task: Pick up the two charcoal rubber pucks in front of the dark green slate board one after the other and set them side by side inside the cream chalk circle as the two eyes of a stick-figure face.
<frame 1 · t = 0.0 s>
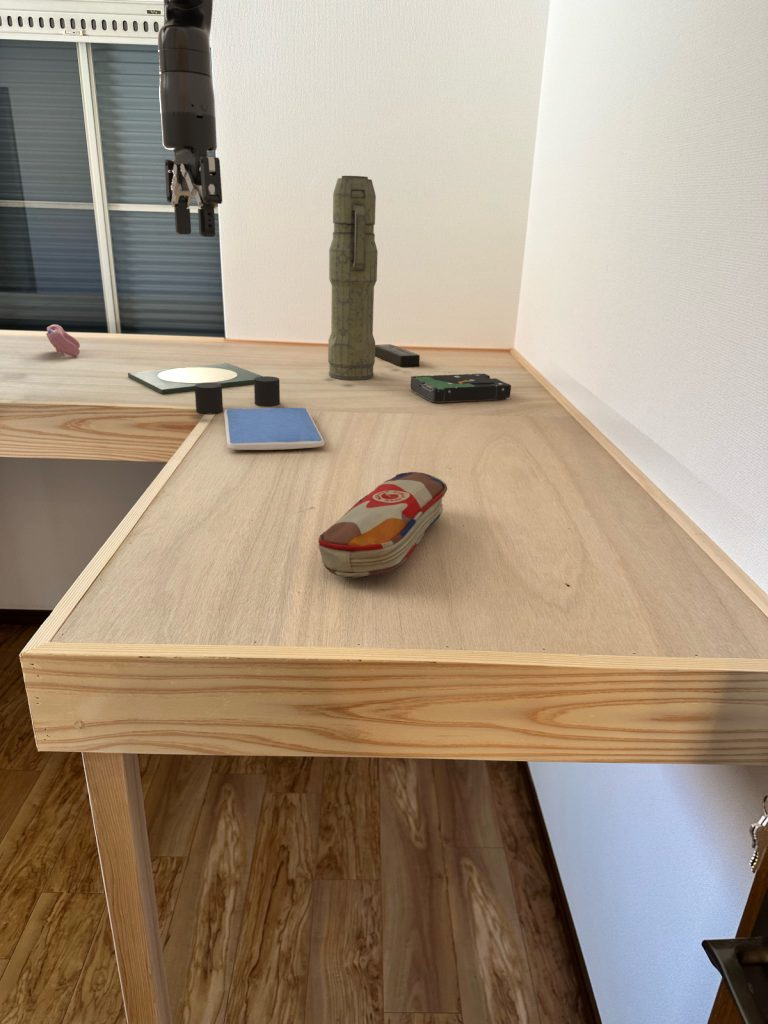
hand: (195, 235, 109), 25 cm above the table, tool pointing down, fingers open, 8 cm apart
eye left: (209, 410, 112), on the table
pencil case: (389, 544, 68), on the table
thermos: (351, 376, 140), on the table
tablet: (271, 433, 102), on the table
multiport hub: (395, 361, 157), on the table
board: (198, 379, 132), on the table
eye right: (267, 403, 117), on the table
pink bird figurine: (65, 354, 152), on the table
disk drive: (459, 396, 128), on the table
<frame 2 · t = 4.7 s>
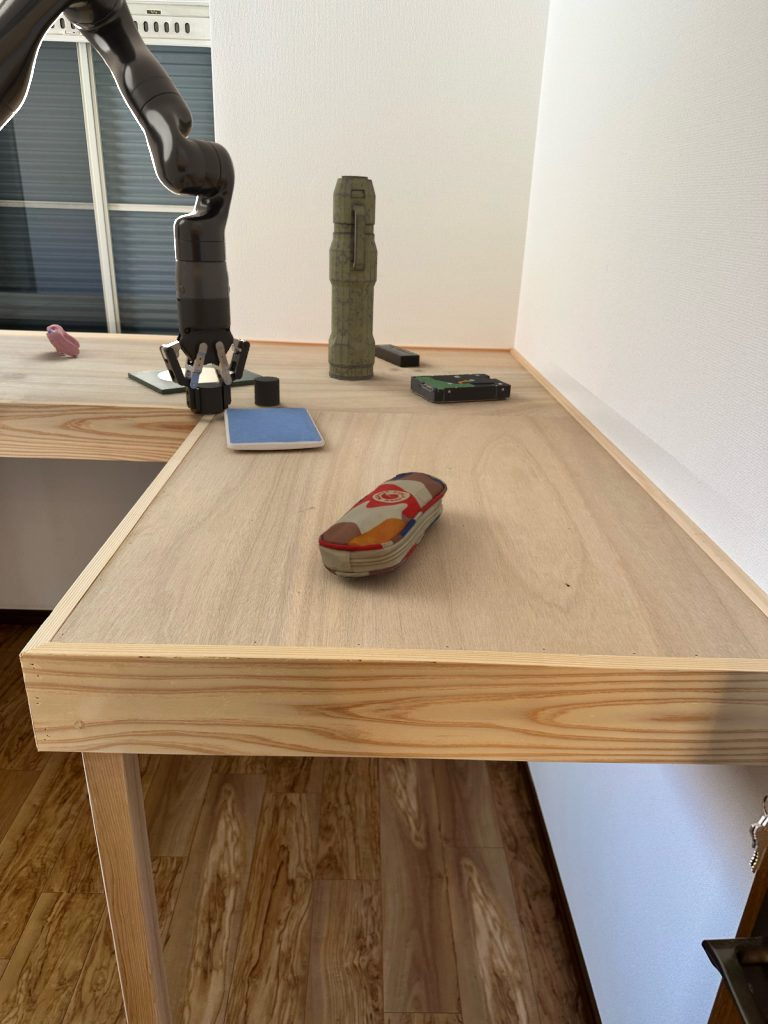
hand: (209, 409, 111), 0 cm above the table, tool pointing down, fingers closed on eye left, 4 cm apart
eye left: (209, 410, 112), on the table, touching gripper
everything else where it was.
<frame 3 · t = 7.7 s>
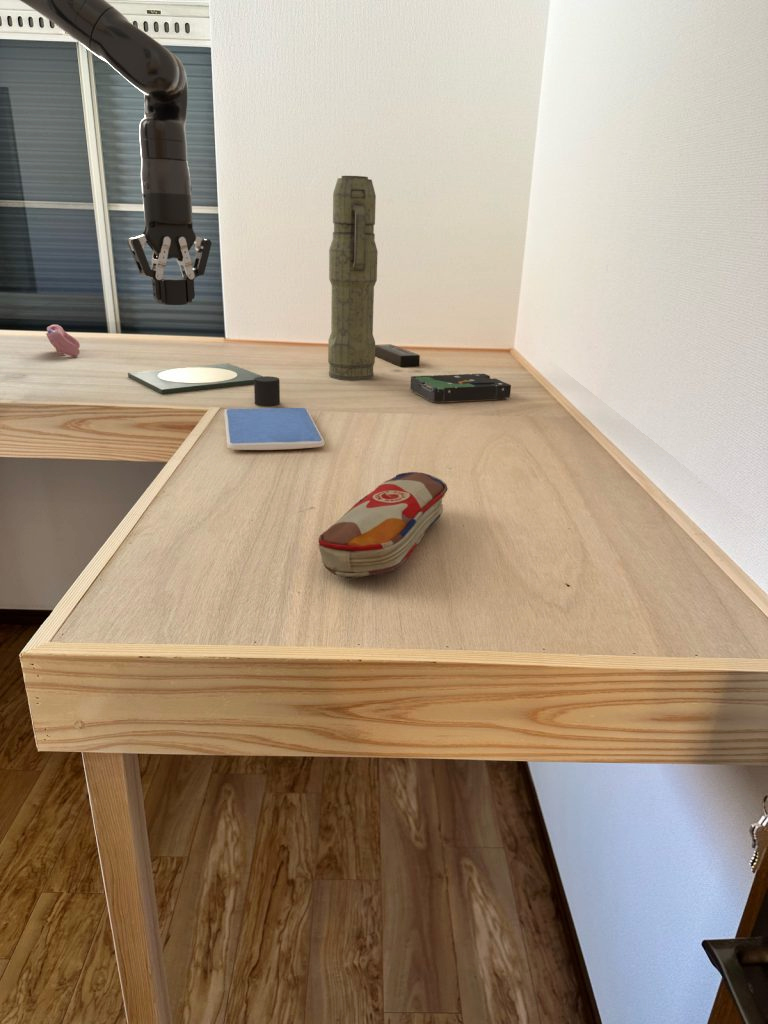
hand: (174, 302, 122), 14 cm above the table, tool pointing down, fingers closed on eye left, 4 cm apart
eye left: (174, 303, 123), point 14 cm above the table, touching gripper
everything else where it was.
when the fingers open (1 cm above the table, at t = 11.1 s): eye left stays where it is, resting on board.
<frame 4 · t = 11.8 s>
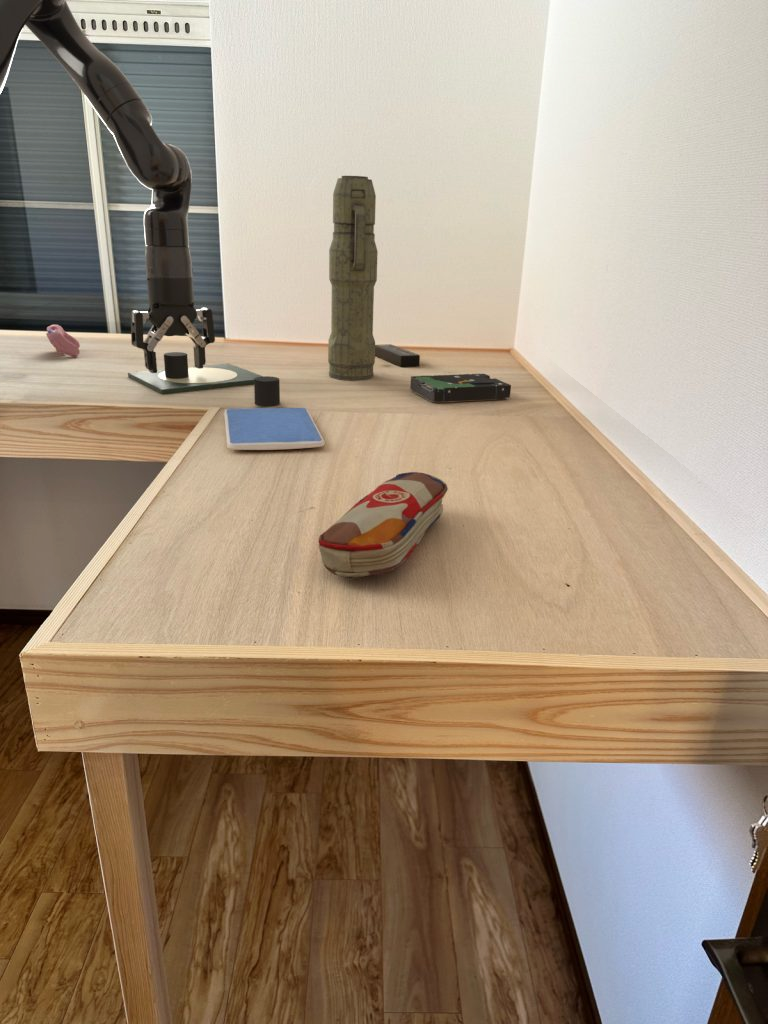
hand: (176, 370, 129), 2 cm above the table, tool pointing down, fingers open, 8 cm apart
eye left: (177, 376, 130), point 1 cm above the table, touching board
everything else where it was.
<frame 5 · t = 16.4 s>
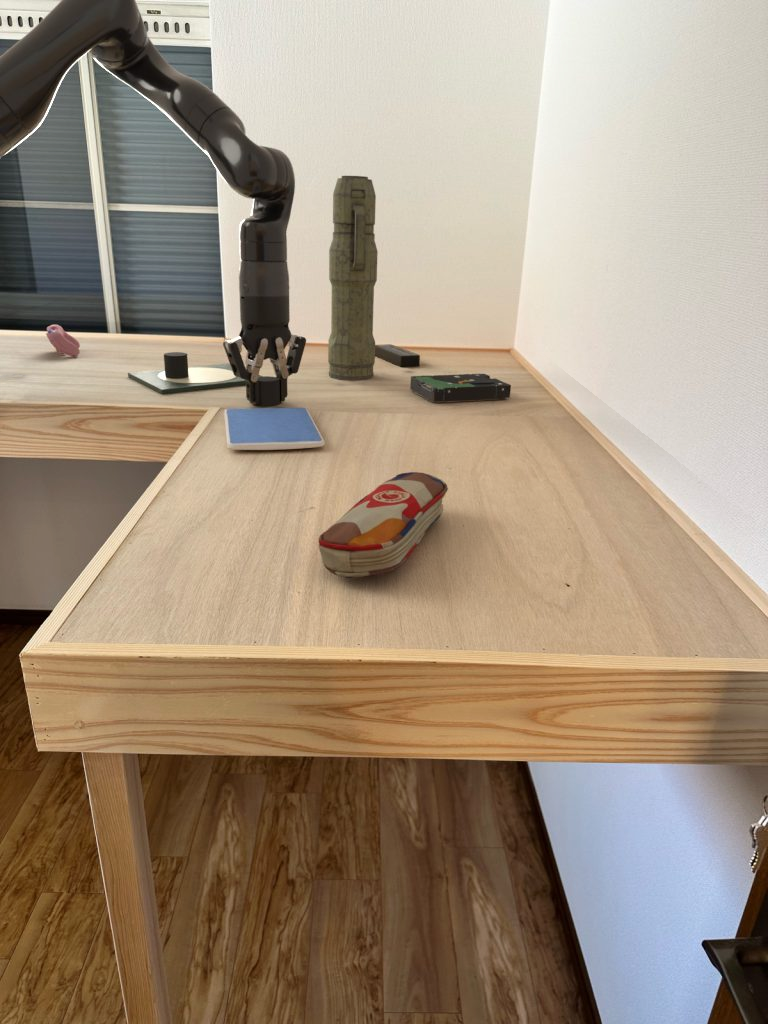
hand: (267, 401, 117), 0 cm above the table, tool pointing down, fingers closed on eye right, 4 cm apart
eye right: (267, 403, 117), on the table, touching gripper
everything else where it was.
when the fingers open (1 cm above the table, at t = 22.9 s): eye right stays where it is, resting on board.
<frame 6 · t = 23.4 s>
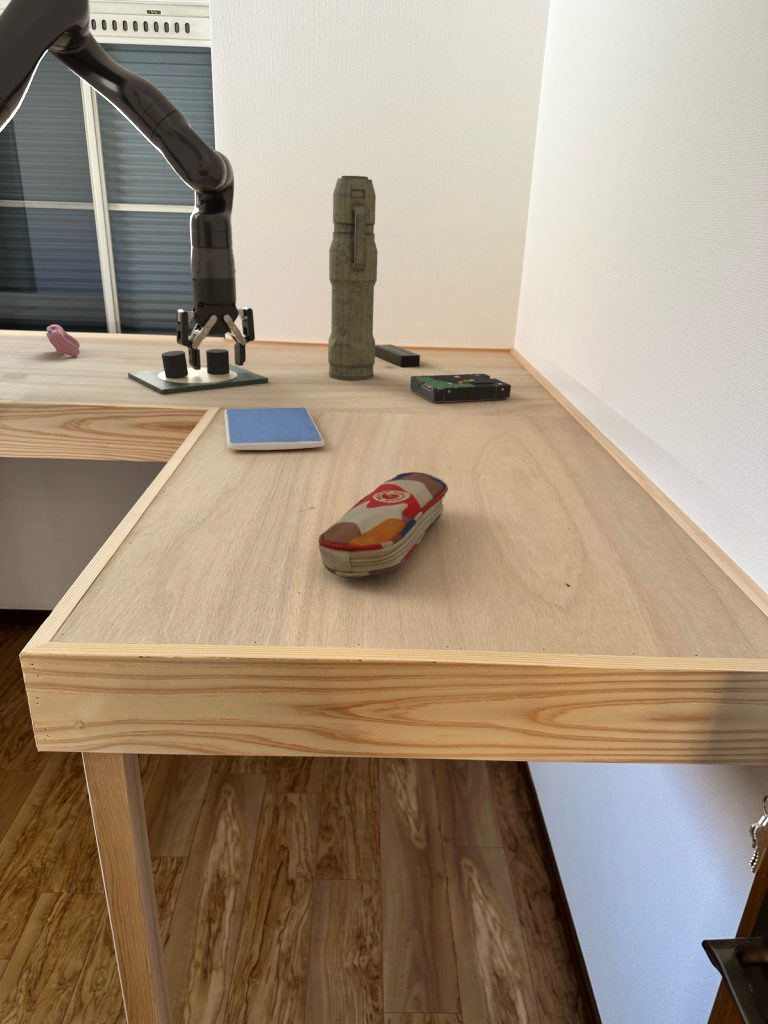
hand: (218, 367, 134), 2 cm above the table, tool pointing down, fingers open, 8 cm apart
eye left: (176, 375, 130), point 1 cm above the table, tilted 6°, touching board, gripper
eye right: (218, 372, 134), point 1 cm above the table, touching board
everything else where it was.
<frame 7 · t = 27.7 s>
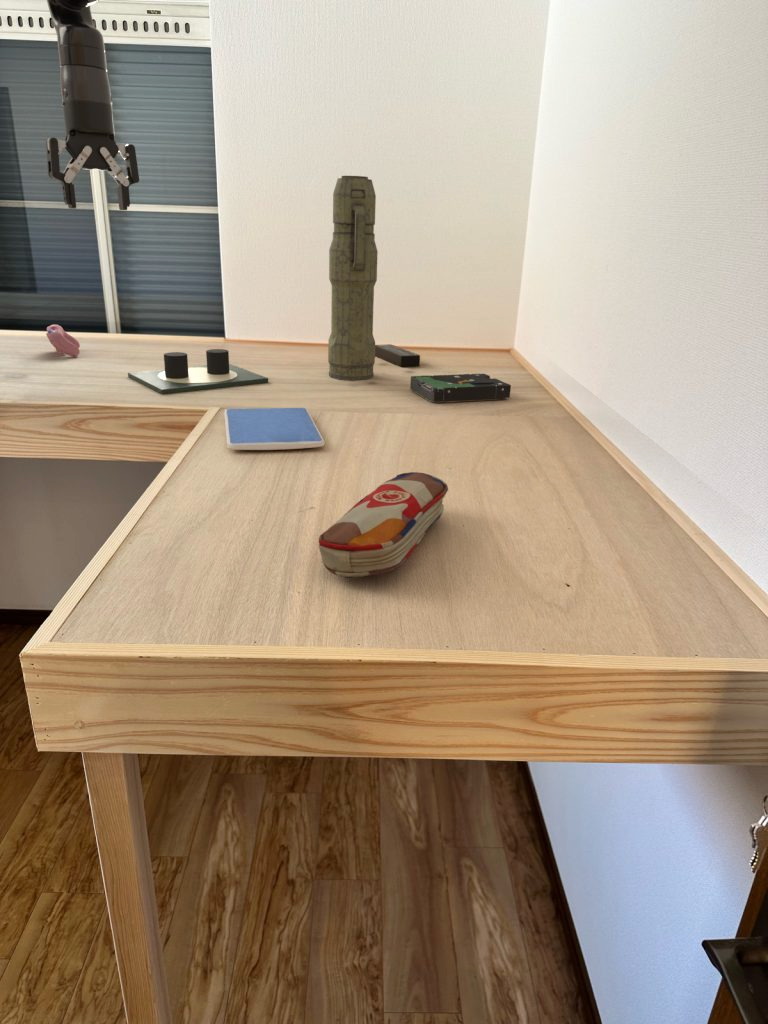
hand: (98, 209, 124), 28 cm above the table, tool pointing down, fingers open, 8 cm apart
eye left: (177, 376, 130), point 1 cm above the table, touching board
everything else where it was.
at the end: eye left 0.4 cm from the target spot on the board, point 0.9 cm above the board's base; eye right 0.2 cm from the target spot on the board, point 0.9 cm above the board's base; eye right tilted 0° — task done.
